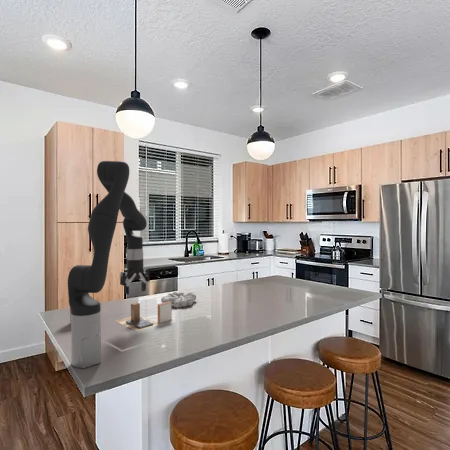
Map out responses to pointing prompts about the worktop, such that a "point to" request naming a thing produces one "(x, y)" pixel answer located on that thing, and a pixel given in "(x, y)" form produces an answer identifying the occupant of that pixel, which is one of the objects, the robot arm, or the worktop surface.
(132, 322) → the wooden post with base
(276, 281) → the worktop surface
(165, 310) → the tile
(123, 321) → the board
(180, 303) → the grey lumpy flat piece
